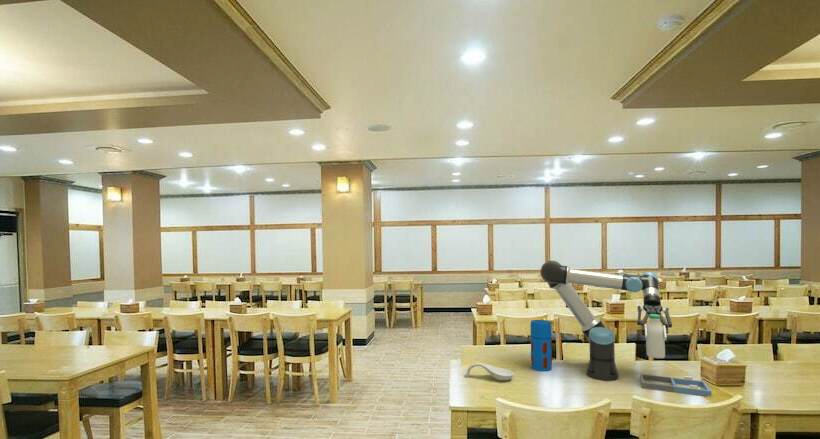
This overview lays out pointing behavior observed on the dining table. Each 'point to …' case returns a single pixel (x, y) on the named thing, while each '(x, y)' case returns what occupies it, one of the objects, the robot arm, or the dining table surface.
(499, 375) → the spoon rest
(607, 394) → the dining table surface
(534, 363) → the thermos
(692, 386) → the bay frame
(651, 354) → the milk bottle
